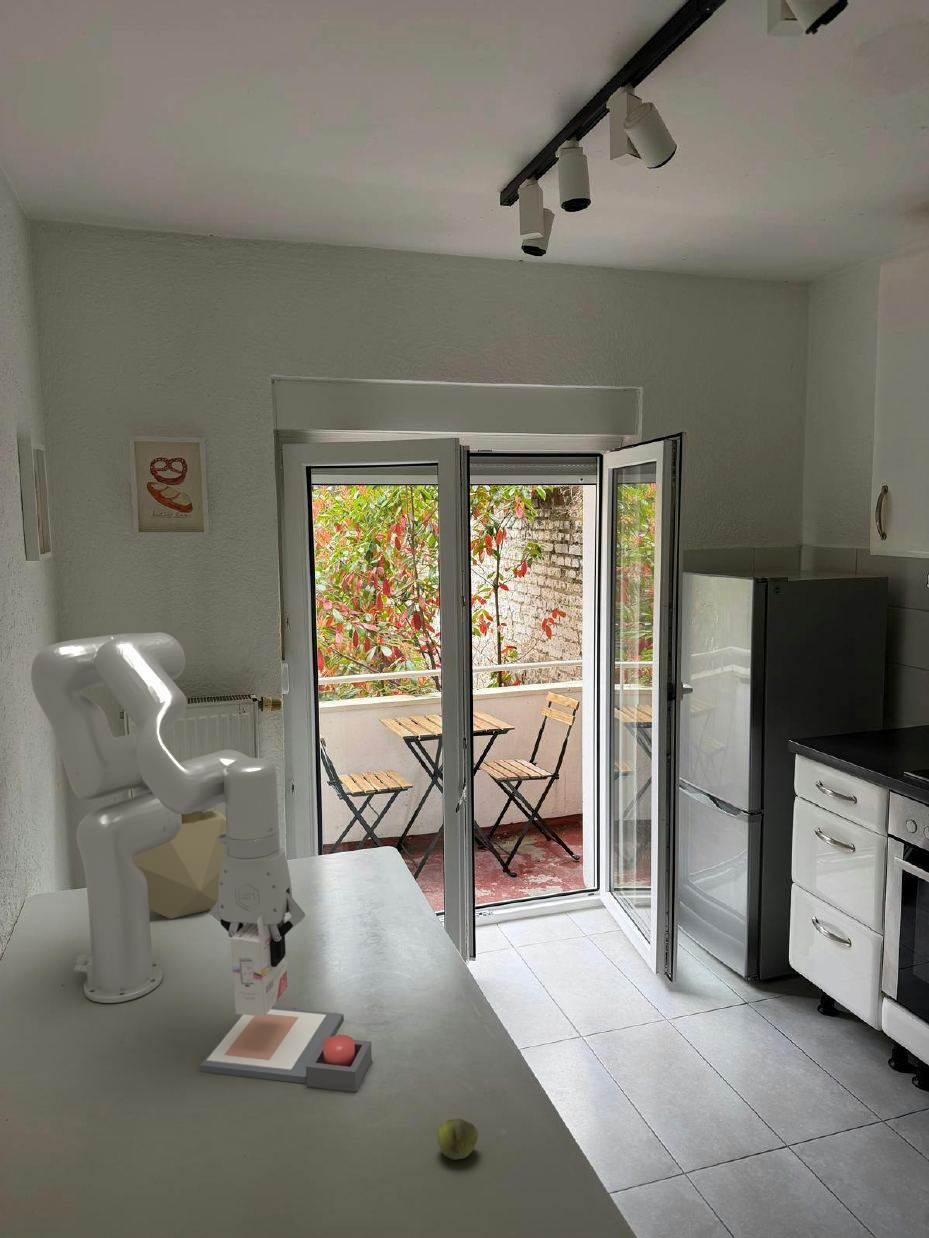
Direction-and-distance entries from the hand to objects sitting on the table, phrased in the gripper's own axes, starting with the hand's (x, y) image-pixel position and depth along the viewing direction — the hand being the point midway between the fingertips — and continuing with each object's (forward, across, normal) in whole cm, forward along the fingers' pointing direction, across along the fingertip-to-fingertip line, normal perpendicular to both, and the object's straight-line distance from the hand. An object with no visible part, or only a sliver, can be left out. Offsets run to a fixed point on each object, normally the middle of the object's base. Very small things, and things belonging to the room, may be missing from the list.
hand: (259, 959), depth 130 cm
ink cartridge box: (+7, 0, 0) cm, 7 cm away
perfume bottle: (+13, -34, +42) cm, 56 cm away
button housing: (+13, +14, -5) cm, 20 cm away
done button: (+12, +14, -5) cm, 19 cm away
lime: (+14, +34, -18) cm, 41 cm away
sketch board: (+13, +2, 0) cm, 13 cm away
